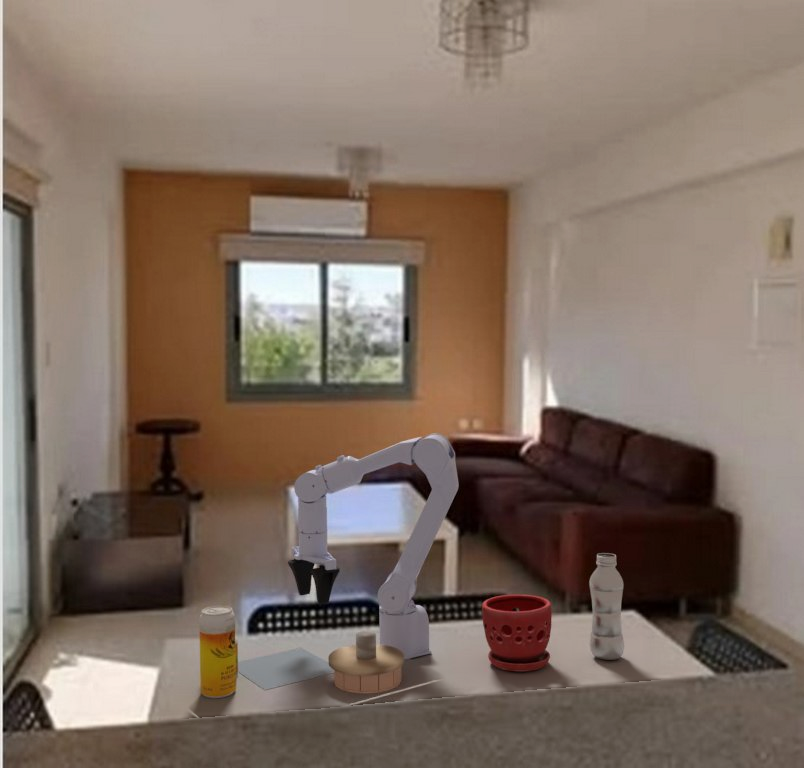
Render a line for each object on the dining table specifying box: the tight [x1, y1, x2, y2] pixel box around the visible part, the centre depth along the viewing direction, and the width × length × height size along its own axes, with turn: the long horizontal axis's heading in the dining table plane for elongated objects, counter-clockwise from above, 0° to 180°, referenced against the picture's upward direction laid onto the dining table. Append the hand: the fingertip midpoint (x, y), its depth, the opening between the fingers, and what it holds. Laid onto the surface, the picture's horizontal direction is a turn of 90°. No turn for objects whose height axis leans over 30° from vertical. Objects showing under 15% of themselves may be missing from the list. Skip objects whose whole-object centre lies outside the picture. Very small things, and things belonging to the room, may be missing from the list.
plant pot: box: [481, 594, 553, 672], centre depth 172 cm, size 13×13×12 cm
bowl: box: [333, 666, 402, 694], centre depth 164 cm, size 12×12×4 cm
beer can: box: [198, 605, 237, 699], centre depth 159 cm, size 6×6×15 cm
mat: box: [238, 647, 334, 691], centre depth 171 cm, size 16×16×1 cm
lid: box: [328, 630, 405, 676], centre depth 163 cm, size 14×14×5 cm
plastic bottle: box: [588, 552, 625, 661], centre depth 175 cm, size 6×7×20 cm
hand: (313, 598), depth 181 cm, fingers open, 7 cm apart
